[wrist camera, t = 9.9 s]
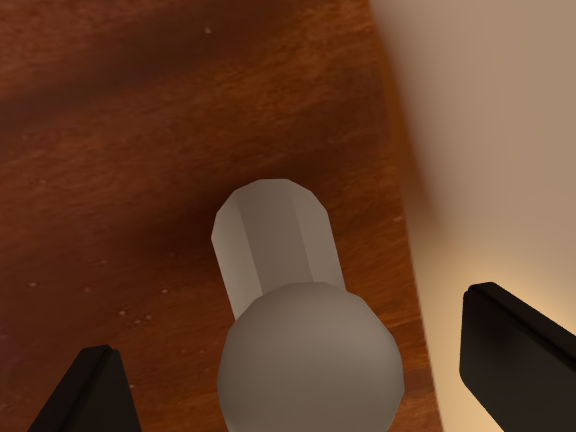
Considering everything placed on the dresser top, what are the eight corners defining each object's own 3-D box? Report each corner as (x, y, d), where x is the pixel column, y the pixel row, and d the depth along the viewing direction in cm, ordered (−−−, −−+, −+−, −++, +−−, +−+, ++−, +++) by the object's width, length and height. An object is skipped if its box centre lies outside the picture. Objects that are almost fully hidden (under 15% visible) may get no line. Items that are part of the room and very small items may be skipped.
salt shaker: (203, 182, 18) (132, 335, 6) (309, 159, 19) (446, 257, 6) (230, 280, 20) (219, 550, 8) (326, 256, 21) (458, 478, 8)
